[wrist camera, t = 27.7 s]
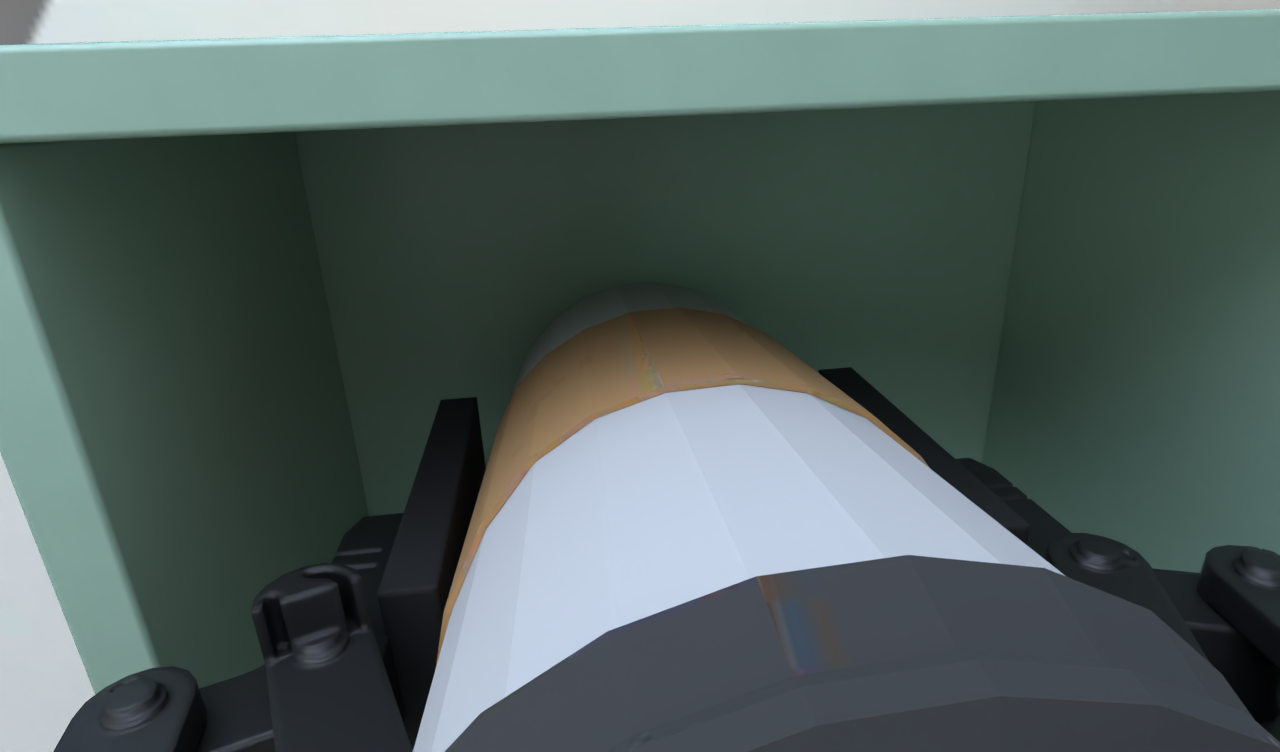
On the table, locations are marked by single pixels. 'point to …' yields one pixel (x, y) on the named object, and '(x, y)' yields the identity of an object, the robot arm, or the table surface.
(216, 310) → the green box
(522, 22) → the table surface
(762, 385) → the coffee cup
